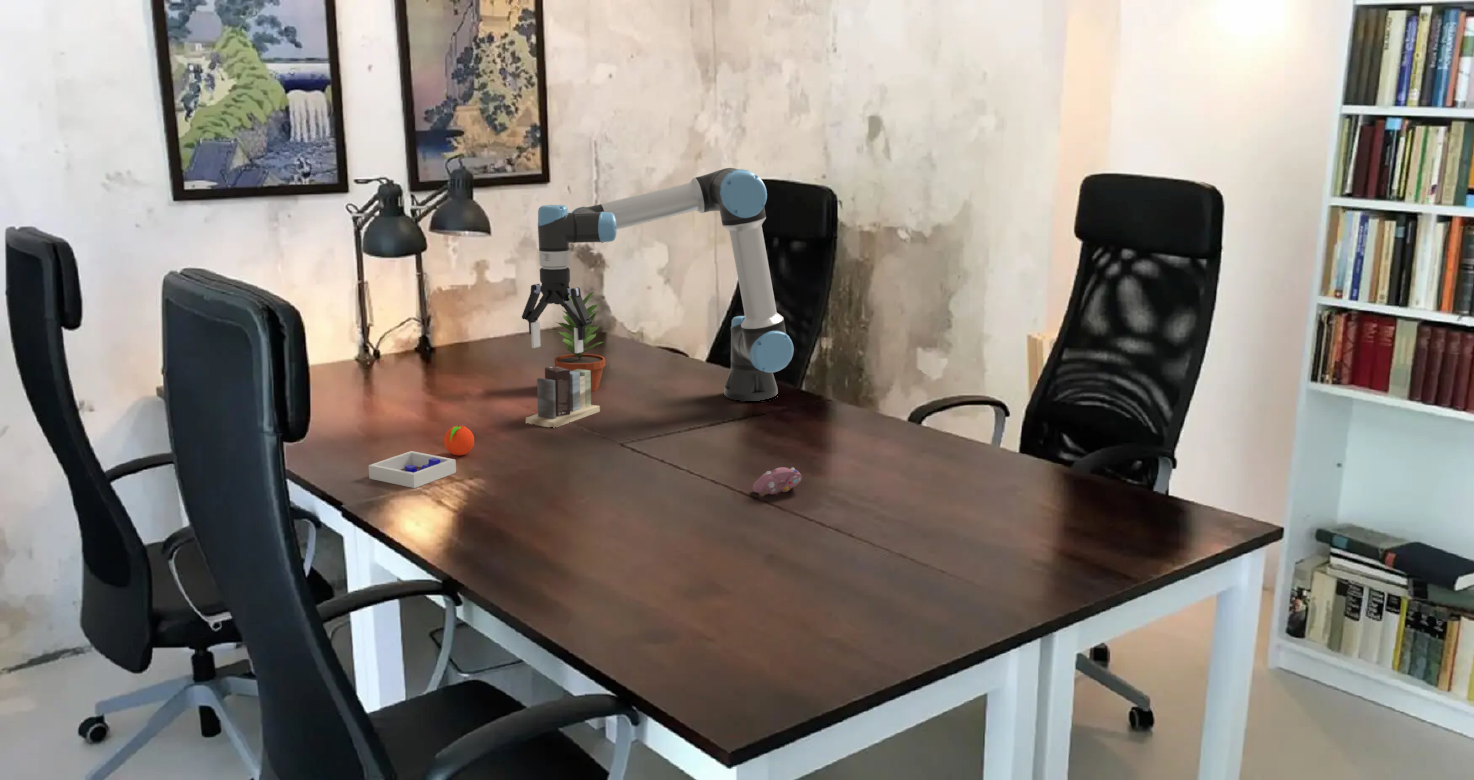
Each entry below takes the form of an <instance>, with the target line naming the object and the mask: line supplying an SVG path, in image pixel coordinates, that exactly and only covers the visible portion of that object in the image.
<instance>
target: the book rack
mask: <svg viewBox="0 0 1474 780" xmlns="http://www.w3.org/2000/svg"><path fill="white" fill-rule="evenodd" d="M536 386H537V387H536V388H537V389H536V390H537V391H536V392H537V395H536V396H537V413H535V414H533V415H530V416H525V424H527V423H529V424H528V425H533V424H535V425H534V426H540V427H544V428H550V427H553V428H552V429H555V427H556V428H559V427H562V426H564V425H567V424H569V422H570V423H572V422H576V421H579V420H581V419H584V418H586V417H589V416H591V415H594V414H597V413H600V411H601V406H600V405H596V404H592V392H591V371H590V370H583V369H576V370H573V371H570V415H566V416H560V417H557V416H556V391H555V380H550V379H545V378H542V377H538V378H537V379H536Z"/></svg>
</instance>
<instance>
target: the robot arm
mask: <svg viewBox="0 0 1474 780" xmlns="http://www.w3.org/2000/svg"><path fill="white" fill-rule="evenodd" d="M767 192H768V191H767V187H766V185H765V183H764V181H763V180H762V179H761V177H760V176H758V175H756V174H755V173H754V172H753V171H750V170H747V169H743V168H742V169H741V168H739V169H738V168H734V167H733V168H732V167H728V168H727V167H726V168H722V169H718V170H716V171H713V172H710V173H707V174H704V175H700V176H696V177H692V179H691V180H690V182H688V183H683V184H679V185H674V186H670V187H666V188H661V189H659V190H655V191H650V192H646V193H641V194H638V195H637V194H636V195H632V196H628V197H624V198H621V199H620V198H619V199H616V200H612V201H606V202H604V203H601V204H595V205H591V206H581V207H577V208H574V209H573V210H572V211H571V212H569V210H568V206H567V205H564V204H545V205H541V206H540V207H539V208H538V210H537V234H538V235H537V236H538V254H539V259H538V260H539V261H538V262H539V266H540V267H541V268H539V282H540V283H541V284H540V283H534V284H532V285H531V284H530V293H529V297H528V299H527V302H526V305H525V306H524V309H523V312H522V315H521V319H522V320H525V321H527V322H528V333H529V335H530V338H531V339H530V340H531V348H532V349H535V348H540V347H541V346H542V345H541V344H542V343H541V326H540V325H541V324H540V323H541V322H540V321H539V318H540V316H541V315H542V314H543V312H544V310H545V309H546V308H547V307H548V305H550V304H551V305H552V304H554V305H560V306H561V307H562V308H563V309H565V310H564V311H565V312H567V313H568V314H569V316H570V317H571V319H572V320H573V322H574V323H575V325H576V327H575V328H574V333H573V336H574V347H575V353H580V352H581V353H582V352H583V351H584V348H583V340H584V339H585V326H587V325H590V324H591V323H592V324H593V320H592V321H591V319H590V317H591V315H590V316H589V314H588V312H587V309H588V308H587V307H586V304H584V302H583V300H584V299H583V298H582V294H581V288H580V287H572V288H571V287H570V281H571V272H570V271H571V269H570V268H569V267H568V266H570V263H571V262H570V244H577V243H578V244H579V243H580V244H581V243H582V244H583V243H601V244H603V243H608V242H614V241H615V240H616V237H617V231H618V230H621V229H625V228H629V227H632V226H637V225H640V224H641V225H642V224H645V223H650V222H654V221H659V220H663V219H667V218H671V217H674V216H680V215H683V214H688V213H692V212H698V213H700V214H703V213H708V212H719V214H720V218H721V219H720V221H721V225H722V227H723V228H725V229H726V230H728V231H729V236H730V242H731V248H732V253H733V258H734V263H735V268H736V269H735V270H736V275H737V279H738V280H737V281H738V284H739V285H738V286H739V291H740V296H741V301H742V307H743V313H744V314H743V315H739V316H734V317H732V319H731V326H730V332H731V333H730V335H731V336H730V370H729V373H728V377H727V379H726V383H725V385H724V388H723V389H724V391H723V394H724V395H725V396H726V397H728V398H730V399H729V400H732V399H734V400H733V401H736V400H740V401H739V402H745V401H760V400H765V399H769V398H772V397H774V396H776V395H777V394H778V393H779V391H778V385H777V382H776V379H775V376H774V373H776V372H777V373H778V372H779V371H781V370H783V369H785V368H786V367H787V366H788V365H789V364H790V362H791V361H792V358H793V356H794V351H795V350H794V349H795V348H794V344H793V341H792V339H791V338H790V336H789V335H788V334H787V330H786V324H785V320H784V319H785V318H784V316H782V315H781V314H780V313H778V312H777V311H778V310H777V305H776V300H775V295H774V290H773V283H772V282H773V281H772V278H771V271H770V266H769V259H768V253H767V249H766V243H765V237H764V232H763V227H762V226H763V223H764V222H765V220H766V219H767V215H766V210H765V205H766V203H767V199H768V193H767ZM540 294H542V295H541V297H540ZM569 294H570V296H571V298H572V300H571V299H570V297H569ZM539 297H540V299H539ZM538 300H539V302H538ZM572 301H573V303H574V305H575V306H574V305H573V303H572ZM537 302H538V303H537ZM592 324H591V325H592ZM724 395H723V396H724ZM725 396H724V397H725ZM726 397H725V398H726ZM728 398H727V399H728Z"/></svg>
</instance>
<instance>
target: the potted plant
mask: <svg viewBox="0 0 1474 780" xmlns="http://www.w3.org/2000/svg"><path fill="white" fill-rule="evenodd" d="M596 290H597V289H595V291H596ZM595 291H593V292H590V293H589V294H587V296H586V297H584V299H582V300H583V302H584V304H585V305H586V304H587V302H588V301H589V300H590V298H591V297H592V296H593V294H595ZM569 297H570V299H571V300H572V298H571V296H570V294H569ZM572 303H573V301H572ZM573 305H574V303H573ZM599 305H600V303H599V304H593V305H590V306H589V307H588V308H586V309H587V312H588V314H589V316H590V319H591V321H592V323H591V324H590V325H587V326H585V339H584V340H583V352H580V353H575V347H574V328H575V327H576V325H575V323H574V322H573V320H572V319H571V317H570V316H569V314H568V313H567V311H566V310H563V309H562V308H560V310H561V311H562V312H563V314H562V318H563V319H564V320H565V321H566V323H565V322H557V320H555V323H557V324H558V325H560V326H561V327H563V328H564V329H565V330H567V331H569V332H571V333H568V332H565V331H563V332H562V331H559V330H557V333H558V334H559V335H561V336H562V342H563V346H564V348H565V349H566V350H567V351H569V352H570V353H571V354H564V355H560V356H556V357H555V358H554V367H556V366H559V367H562V368H565V369H569V370H570V371H573V370H576V369H583V370H590V371H591V393H593V392H596V391H598V390H599V387H600V383H601V379H602V375H603V371H604V368H605V366H606V357H604V356H602V355H599V354H593V353H586V352H588V351H589V350H591V349H593V348H595V347H597V346H599V345H600V344H602V343H603V341H598V342H595V343H593V344H592V345H589V346H587V344H588V343H590V342H591V341H592V340H593V339H594V338H595V337H596V335H597V334H596V333H594V332H595V331H597V330H598V329H599V327H600V324H599V325H598V326H592V324H593V320H594V319H595V318H596V316H597V313H598V312H599V310H597V311H596V309H597V307H599ZM574 306H575V305H574ZM564 313H565V314H564ZM593 333H594V334H593Z"/></svg>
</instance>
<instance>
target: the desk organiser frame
mask: <svg viewBox="0 0 1474 780" xmlns="http://www.w3.org/2000/svg"><path fill="white" fill-rule="evenodd" d="M432 458H436V459H440V463H439V464H436V465H434V466H431V467H428V468H425V469H422V470H420V469H419V470H420V471H418V470H417V472H414V473H413V472H408V471H405V466H407V465H413V466H416V468H417V467H418V468H421V467H422V466H423V465H425V464H428V463H429V459H432ZM403 469H404V470H403ZM456 473H457V462H456V459H454V458H448V457H444V456H439V455H434V454H429V453H424V452H418V451H413V450H410V451H407V452H404V453H401V454H399V455H398V454H397V455H395V456H392V457H389V458H386V459H383V460H381V461H378V462H375V463H372V464H368V478H369V479H370V480H374V481H380V482H384V483H389V484H394V485H398V486H404V487H407V488H411V489H416V488H418V487H421V486H424V485H426V484H429V483H430V484H431V483H432V482H435V481H437V480H441V479H442V478H446V477H449V476H451V475H454V474H456Z"/></svg>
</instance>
